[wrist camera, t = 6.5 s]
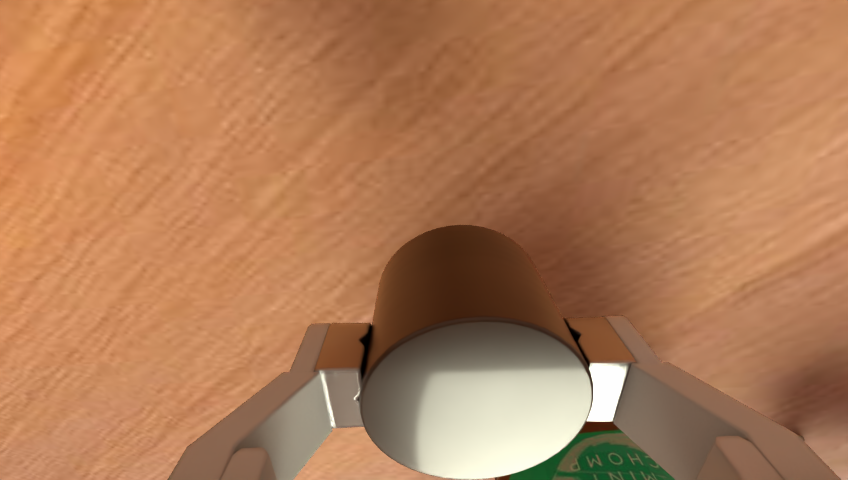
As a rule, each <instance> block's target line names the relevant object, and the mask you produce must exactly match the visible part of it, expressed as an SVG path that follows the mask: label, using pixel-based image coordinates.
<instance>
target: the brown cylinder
mask: <svg viewBox="0 0 848 480" xmlns="http://www.w3.org/2000/svg"><path fill="white" fill-rule="evenodd" d="M593 399H594V385H593V379H592V375H591V372H590V370H589V367H588V365H587V363H586V361H585V359H584V357H583V355H582V353H581V351H580V350H579V348H578V346H577V344H576V342H575V340H574V338H573V336H572V335H571V333H570V331H569V329H568V327H567V325H566V323H565V321H564V320H563V318H562V316H561V314H560V312H559V310H558V308H557V306H556V305H555V303H554V301H553V299H552V297H551V295H550V293H549V292H548V290H547V288H546V286H545V284H544V282H543V280H542V278H541V277H540V275H539V273H538V271H537V269H536V267H535V265H534V263H533V262H532V260H531V259H530V257H529V256H528V254H527V253H526V252H525V251H524V250H523V248H522V247H521V246H520V245H518V244H517V243H516V242H515V241H513V240H512V239H510V238H509V237H507V236H505V235H504V234H501V233H499V232H497V231H494V230H491V229H487V228H484V227H479V226H472V225H454V226H446V227H441V228H437V229H434V230H431V231H428V232H425V233H423V234H421V235H419V236H417V237H415V238H414V239H412V240H411V241H409V242H407V243H406V244H405V245H404V246H402V247H401V248H400V249H399V250H398V251H397V252H396V253H395V254H394V255H393V257H392V258H391V259H390V261H389V262H388V264H387V265H386V267H385V269H384V271H383V273H382V276H381V279H380V283H379V288H378V294H377V299H376V305H375V311H374V316H373V322H372V327H371V333H370V338H369V344H368V349H367V355H366V361H365V366H364V372H363V377H362V383H361V388H360V395H359V411H360V415H361V419H362V423H363V425H364V427H365V429H366V432H367V434H368V435H369V437H370V438H371V440H372V441H373V442H374V443H375V444H376V446H377V447H378V448H379V449H380V450H381V451H382V452H384V453H385V454H386V455H387V456H389V457H390V458H392V459H393V460H395V461H396V462H398V463H400V464H402V465H404V466H406V467H408V468H410V469H412V470H415V471H418V472H420V473H424V474H428V475H431V476H436V477H441V478H448V479H458V480H476V479H489V478H496V477H501V476H506V475H510V474H514V473H517V472H520V471H524V470H526V469H529V468H531V467H534V466H536V465H538V464H540V463H542V462H544V461H546V460H548V459H549V458H551V457H553V456H554V455H556V454H557V453H559V452H560V451H561V450H562V449H564V448H565V447H566V446H567V445H568V444H569V443H570V442H571V441H572V440H573V439H574V438H575V437H576V436H577V435H578V434H579V432H580V431H581V430H582V428H583V427H584V425H585V423H586V421H587V419H588V418H589V415H590V412H591V409H592V405H593Z"/></svg>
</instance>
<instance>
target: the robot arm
mask: <svg viewBox="0 0 848 480" xmlns="http://www.w3.org/2000/svg"><path fill="white" fill-rule="evenodd" d="M563 320H564V321H565V323H566V325H567V327H568V329H569V331H570V333H571V335H572V336H573V338H574V340H575V342H576V344H577V346H578V348H579V350H580V351H581V353H582V355H583V357H584V359H585V361H586V363H587V365H588V367H589V370H590V372H591V375H592V379H593V385H594V399H593V405H592V409H591V412H590V415H589V418H588V419H587V421H614V424H615V425H616V426H617V427H618V428H619V429H620V430H621V431H622V432H624V433H625V434H626V435H627V436H628V437H629V438H630V439H631V440H632V441H633V442H634V443H636V444H637V445H638V446H639V447H640V448H641V449H642V450H643V451H644V452H645V453H647V454H648V455H649V456H650V457H651V458H652V459H653V460H654V461H655V462H656V463H658V464H659V465H660V466H661V467H662V468H663V469H664V470H665V471H666V472H667V473H668V474H670V475H671V476H672V477H673V478H674V479H675V480H841V479H840V478H839V477H838V476H837V475H836V474H835V473H834V472H833V471H832V470H831V469H830V468H829V467H828V466H827V465H826V464H825V463H824V462H823V461H822V460H821V459H820V458H819V457H818V456H817V455H816V454H815V452H814V451H813V450H812V449H811V448H810V447H809V446H808V445H807V444H806V443H805V442H804V441H803V440H802V439H801V438H800V437H799V436H798V435H797V434H796V433H794V432H792V431H791V430H789V429H787V428H785V427H784V426H782V425H780V424H778V423H776V422H775V421H773V420H771V419H769V418H767V417H766V416H764V415H762V414H760V413H758V412H757V411H755V410H753V409H751V408H749V407H748V406H746V405H744V404H742V403H740V402H739V401H737V400H735V399H733V398H731V397H730V396H728V395H726V394H724V393H723V392H721V391H719V390H717V389H715V388H714V387H712V386H710V385H708V384H706V383H705V382H703V381H701V380H699V379H697V378H696V377H694V376H692V375H690V374H688V373H687V372H685V371H683V370H681V369H679V368H678V367H676V366H674V365H672V364H670V363H662V362H661V361H660V359H659V358H658V357H657V355H656V354H655V353H654V352H653V350H652V349H651V348H650V347H649V345H648V344H647V343H646V341H645V340H644V339H643V338H642V336H641V335H640V334H639V333H638V331H637V330H636V329H635V328H634V326H633V325H632V324H631V322H630V321H629V320H628V319H627V318H626V317H625V316H623V315H616V316H602V317H578V318H563ZM371 327H372V325H371V323H331V324H330V323H315V324H311V325H310V326H309V327H308V328H307V331H306V333H305V336H304V338H303V340H302V343H301V345H300V348H299V350H298V352H297V355H296V357H295V360H294V362H293V364H292V367H291V369H290V372H283V373H282V374H280V375H279V376H278V377H277V378H275V379H274V380H273V381H271V382H270V383H269V384H268V385H266V386H265V387H264V388H262V389H261V390H260V391H259V392H257V393H256V394H255V395H253V396H252V397H251V398H250V399H248V400H247V401H246V402H244V403H243V404H242V405H241V406H239V407H238V408H237V409H235V410H234V411H233V412H232V413H230V414H229V415H228V416H226V417H225V418H224V419H223V420H221V421H220V422H219V423H217V424H216V425H215V426H214V427H212V428H211V429H210V430H208V431H207V432H206V433H205V434H203V435H202V436H201V437H199V438H198V439H197V440H196V441H194V442H193V443H192V444H190V445H189V446H188V447H187V448H186V450H185V451H184V453H183V455H182V456H181V458H180V460H179V461H178V463H177V465H176V466H175V468H174V470H173V472H172V473H171V475H170V477H169V478H168V480H293V479H294V478H295V477H296V476H297V474H298V473H299V472H300V471H301V469H302V468H303V467H304V466H305V464H306V463H307V462H308V460H309V459H310V458H311V457H312V455H313V454H314V453H315V452H316V450H317V449H318V448H319V447H320V445H321V444H322V443H323V442H324V440H325V439H326V438H327V437H328V435H329V434H330V433H331V432H332V428H347V427H364V425H363V423H362V419H361V415H360V411H359V395H360V388H361V383H362V377H363V372H364V366H365V361H366V355H367V349H368V344H369V338H370V333H371Z"/></svg>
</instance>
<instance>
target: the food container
mask: <svg viewBox="0 0 848 480" xmlns="http://www.w3.org/2000/svg"><path fill="white" fill-rule="evenodd" d="M495 480H675V479H674V478H673V477H672V476H671V475H670V474H668V473H667V472H666V471H665V470H664V469H663V468H662V467H661V466H660V465H659V464H658V463H656V462H655V461H654V460H653V459H652V458H651V457H650V456H649V455H648V454H647V453H645V452H644V451H643V450H642V449H641V448H640V447H639V446H638V445H637V444H636V443H634V442H633V441H632V440H631V439H630V438H629V437H628V436H627V435H626V434H625V433H624V432H622V431H621V430H620V429H619V428H618V427H617V426H616V425H615V424H614V421H586V423H585V425H584V427H583V428H582V430H581V431H580V432H579V434H578V435H577V436H576V437H575V438H574V439H573V440H572V441H571V442H570V443H569V444H568V445H567V446H566V447H565V448H564V449H562V450H561V451H560V452H559V453H557V454H556V455H554V456H553V457H551V458H549V459H548V460H546V461H544V462H542V463H540V464H538V465H536V466H534V467H531V468H529V469H526V470H524V471H520V472H517V473H514V474H510V475H506V476H501V477H496V478H495Z"/></svg>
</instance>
